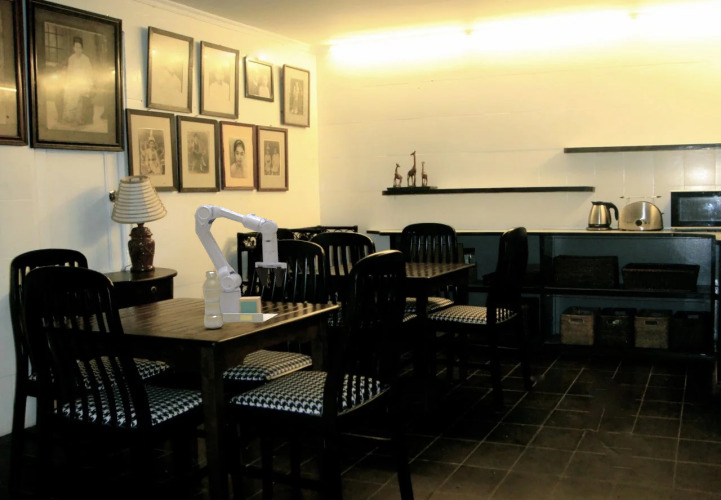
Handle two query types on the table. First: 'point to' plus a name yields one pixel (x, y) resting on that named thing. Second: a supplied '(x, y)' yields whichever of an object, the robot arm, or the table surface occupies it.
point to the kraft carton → (250, 305)
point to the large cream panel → (246, 317)
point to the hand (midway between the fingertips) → (271, 286)
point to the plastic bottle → (212, 301)
